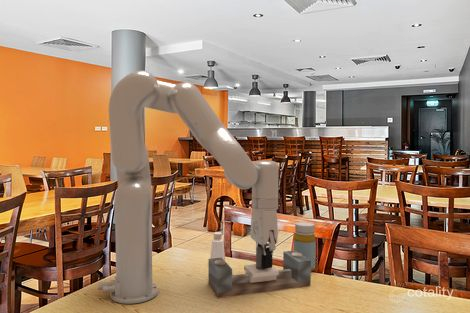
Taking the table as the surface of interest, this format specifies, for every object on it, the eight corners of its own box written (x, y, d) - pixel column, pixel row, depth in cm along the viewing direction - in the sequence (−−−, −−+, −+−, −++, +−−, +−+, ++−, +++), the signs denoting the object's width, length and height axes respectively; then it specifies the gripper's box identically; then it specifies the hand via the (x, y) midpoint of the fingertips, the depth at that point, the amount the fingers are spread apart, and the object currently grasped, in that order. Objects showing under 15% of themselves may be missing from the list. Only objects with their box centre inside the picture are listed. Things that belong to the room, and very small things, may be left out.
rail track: (217, 298, 101) (217, 268, 101) (208, 284, 111) (208, 256, 110) (310, 285, 110) (311, 258, 110) (294, 273, 120) (294, 248, 119)
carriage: (252, 284, 106) (252, 252, 105) (243, 275, 113) (244, 245, 112) (278, 281, 108) (279, 249, 108) (268, 273, 115) (269, 243, 115)
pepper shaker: (209, 262, 130) (209, 230, 129) (225, 262, 130) (225, 230, 129) (209, 267, 124) (209, 234, 124) (225, 267, 125) (226, 234, 124)
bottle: (316, 273, 120) (317, 226, 120) (294, 272, 121) (295, 226, 120) (312, 265, 127) (313, 221, 127) (291, 265, 128) (292, 221, 127)
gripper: (243, 199, 116) (242, 258, 117) (263, 209, 101) (263, 277, 102) (265, 198, 119) (265, 256, 120) (289, 207, 103) (288, 274, 104)
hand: (264, 265), depth 111 cm, fingers closed on carriage, 3 cm apart
